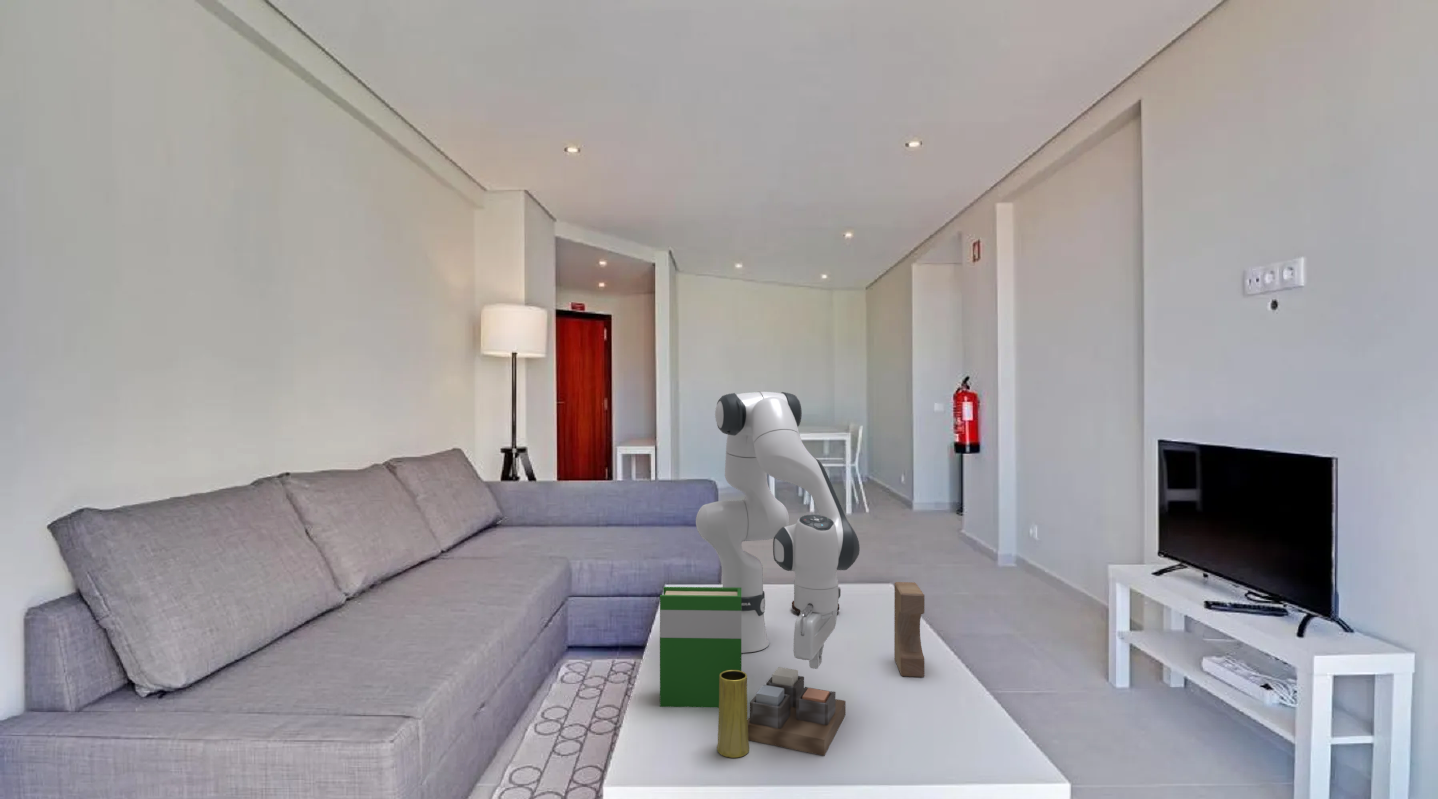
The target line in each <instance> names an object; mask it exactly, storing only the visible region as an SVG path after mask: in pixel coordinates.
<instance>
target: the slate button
mask: <svg viewBox="0 0 1438 799" xmlns="http://www.w3.org/2000/svg"><path fill="white" fill-rule="evenodd" d="M755 696H756V702H757V703H762V704H768V705H773V706H780V704H781V703H782V702H783V700H784V688H779V687H774V686H768V685H766V684H763V685H762V686H761V687H760V688H759V689H758V691H757V692H756V694H755Z"/></svg>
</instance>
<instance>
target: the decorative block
mask: <svg viewBox="0 0 1438 799" xmlns="http://www.w3.org/2000/svg"><path fill="white" fill-rule="evenodd" d="M893 609H894V614H893V615H894V618H893V619H894V630H893V632H894V633H893V634H894V657H893V659H894V661H895V664H896V666H897V669H898V671H899V673H900V676H902V677H905V676H908V677H909V678H912V677H913V678H924V677H925V655H924V653H923V648H922V640H921V619H922V615H924V614H925V594H924V592H923V591H922V590H921V587H919V585H918V583H916V582H914V581H913V582H911V581H907V582H906V581H895V582H894V607H893ZM908 677H907V678H908Z"/></svg>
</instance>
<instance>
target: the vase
mask: <svg viewBox="0 0 1438 799" xmlns="http://www.w3.org/2000/svg"><path fill="white" fill-rule="evenodd" d="M717 724H718V725H717V727H718V728H717V745H716V750H717V752H718V754H720V755H721V756H723V757H726V758H729V759H730V758H731V759H736V758H737V759H738V758H742V757H744V756H746V755H747V754H748V753H749V751H750V740H748V675H747V673H746V672H744V671H742V670H741V671H739V670H727V671H723V672H722V673H720V676H719V708H718V723H717Z"/></svg>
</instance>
